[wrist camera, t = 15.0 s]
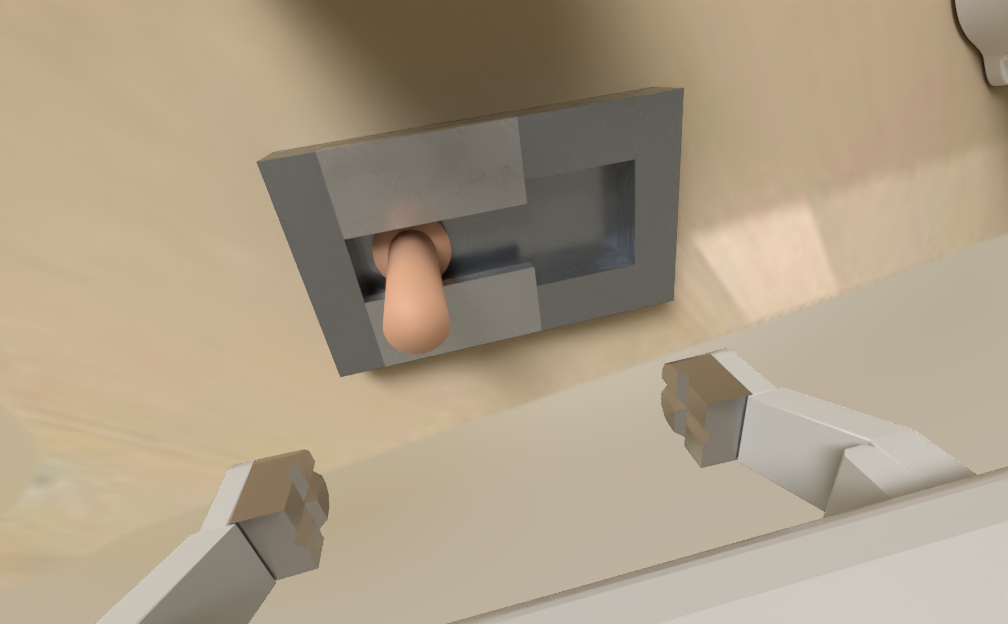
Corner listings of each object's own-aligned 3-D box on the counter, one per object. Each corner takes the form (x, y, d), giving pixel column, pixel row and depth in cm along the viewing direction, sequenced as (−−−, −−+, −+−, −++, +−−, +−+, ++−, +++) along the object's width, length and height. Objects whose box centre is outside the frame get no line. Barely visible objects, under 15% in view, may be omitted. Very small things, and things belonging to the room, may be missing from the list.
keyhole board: (653, 87, 29) (683, 87, 26) (649, 281, 36) (673, 300, 33) (273, 152, 27) (256, 161, 23) (345, 349, 33) (340, 377, 30)
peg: (441, 203, 29) (461, 264, 20) (456, 273, 31) (479, 359, 22) (363, 217, 29) (344, 288, 19) (384, 288, 31) (376, 382, 21)
